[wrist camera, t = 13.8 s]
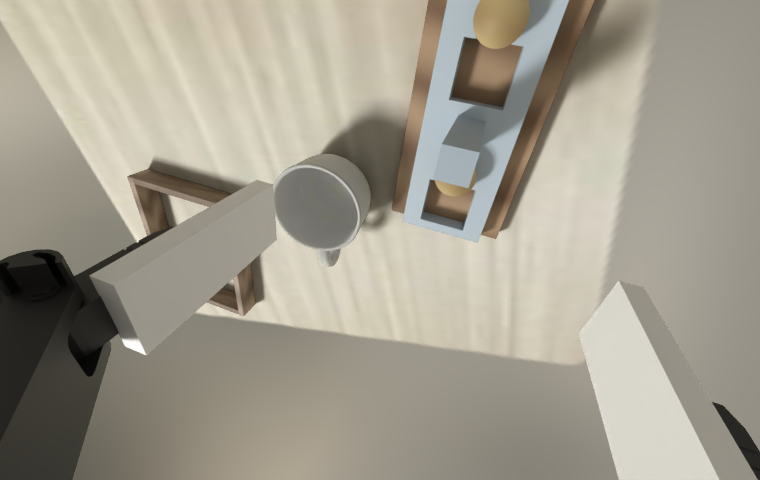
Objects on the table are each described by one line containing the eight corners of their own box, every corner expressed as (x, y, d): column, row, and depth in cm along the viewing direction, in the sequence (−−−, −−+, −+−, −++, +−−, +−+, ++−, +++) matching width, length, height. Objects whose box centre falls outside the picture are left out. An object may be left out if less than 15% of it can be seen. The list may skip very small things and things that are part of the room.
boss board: (450, -104, 25) (440, -135, 21) (627, -89, 23) (657, -121, 18) (394, 205, 41) (382, 224, 36) (496, 232, 38) (495, 256, 34)
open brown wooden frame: (147, 169, 52) (127, 176, 49) (242, 197, 48) (226, 206, 45) (178, 275, 64) (164, 286, 62) (255, 303, 61) (243, 316, 58)
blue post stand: (457, -31, 26) (431, -79, 16) (571, -17, 25) (622, -60, 14) (406, 214, 39) (374, 273, 29) (478, 234, 38) (471, 304, 28)
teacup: (305, 137, 40) (267, 155, 33) (386, 156, 38) (363, 179, 31) (305, 229, 48) (274, 258, 41) (372, 249, 46) (351, 283, 39)
